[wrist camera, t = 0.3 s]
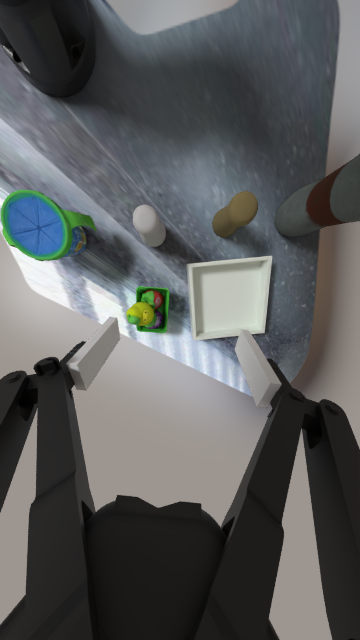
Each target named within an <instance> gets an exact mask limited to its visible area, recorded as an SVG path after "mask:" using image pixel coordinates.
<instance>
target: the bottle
mask: <svg viewBox="0 0 360 640" xmlns="http://www.w3.org/2000/svg"><path fill="white" fill-rule="evenodd" d="M356 221H360V154H359V155H358V156H357V157H355V158H354V159H352V160H351V161H349V162H348V163H346V164H345V165H343V166H342V167H340V168H339V169H337V170H336V171H334V172H333V173H331V174H330V175H328V176H327V177H325V178H323V179H321V180H318V181H316V182H313V183H311V184H309V185H306V186H304V187H302V188H300V189H299V190H297V191H296V192H294V193H293V194H292V195H290V196H289V197H288V198H287V199H286V200H285V201H284V202H283V203H282V204H281V205H280V207H279V209H278V210H277V212H276V216H275V226H276V229H277V231H278V232H279V233H280V234H282V235H285V236H291V237H292V236H302V235H306V234H309V233H311V232H314V231H317V230H319V229H321V228H324V227H326V226H331V225H336V224H342V223H348V222H356Z"/></svg>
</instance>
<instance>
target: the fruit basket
mask: <svg viewBox="0 0 360 640" xmlns="http://www.w3.org/2000/svg"><path fill="white" fill-rule="evenodd" d="M168 305H169V290H168V289H167V288H154V287H143V286H139V287H137V289H136V303H135V304H134V305H133V306H132V307H131V308H130V309H128V311H127V313H126V316H127V319H128V322H129V323H131V324H135V325H137V330H138V331H140V332H156V333H165V332H166V331H167V319H168Z"/></svg>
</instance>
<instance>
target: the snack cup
mask: <svg viewBox="0 0 360 640" xmlns="http://www.w3.org/2000/svg"><path fill="white" fill-rule="evenodd" d="M1 221H2V225H3V231H2V232H3V235H4V237H5V239H6V241H7V242H8V244H9V245H10V246H13V247H16V248H18V249H19V250H20V251H21V252H23V253H24V254H26V255H28V256H30V257H32V258H34V259H35V260H39V261H44V260H47V261H49V260H57V259H59V258H61V257H67V256H73V255H77V254H79V253H81V252H82V251H83V250H85V246H86V233H85V231H84V230H83V228H82V227H81V226H90V227H91V228H92V229H93V230H95V231H96V227H95V225H94V222H93V220H92V218H91V217H90V216H89V215H83V214H80V213H76V212H72V211H66V210H62V209H61V208H60V207H59V206H58V205H57V204H56V203H55V202H54V201H53V200H51V199H50V198H48V197H46V196H45V195H44V194H42V193H41V192H38V191H31V190H18V191H15V192H13V193H11V194H10V195H9V196H8V197H7V198H6V199H5V201H4V203H3V205H2V209H1Z"/></svg>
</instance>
